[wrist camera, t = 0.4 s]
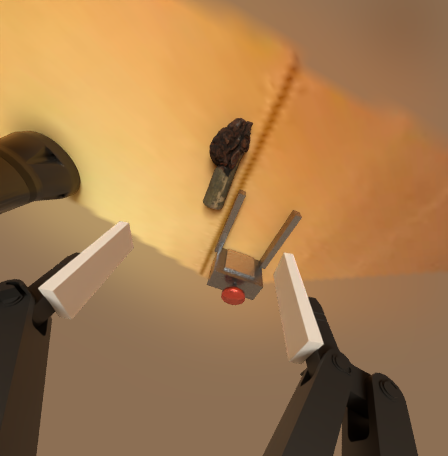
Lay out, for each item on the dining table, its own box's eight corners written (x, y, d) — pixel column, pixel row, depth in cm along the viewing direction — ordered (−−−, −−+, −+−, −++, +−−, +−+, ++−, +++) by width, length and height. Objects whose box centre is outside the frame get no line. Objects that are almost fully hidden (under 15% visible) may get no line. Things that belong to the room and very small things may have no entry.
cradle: (210, 259, 51) (200, 294, 41) (239, 189, 38) (235, 215, 28) (255, 275, 53) (256, 313, 42) (299, 212, 39) (316, 245, 29)
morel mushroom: (223, 204, 41) (220, 215, 36) (197, 193, 40) (190, 203, 36) (257, 125, 31) (258, 126, 27) (224, 109, 31) (219, 108, 26)
